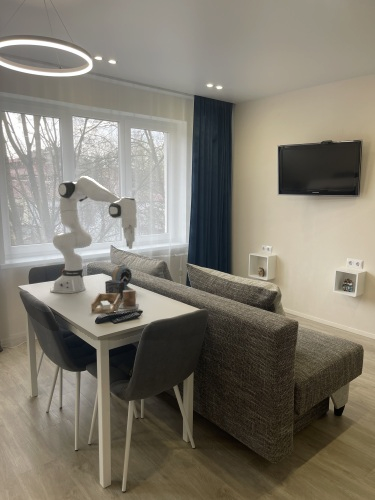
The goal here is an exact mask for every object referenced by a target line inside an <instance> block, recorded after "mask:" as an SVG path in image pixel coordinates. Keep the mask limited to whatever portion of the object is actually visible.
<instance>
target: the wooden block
mask: <svg viewBox="0 0 375 500" xmlns="http://www.w3.org/2000/svg"><path fill="white" fill-rule="evenodd" d="M136 294H137V293H136V290H135V289H134V290H124V291H123V298H122V304H123V307H131V306H136V304H137V301H136V299H137V295H136Z"/></svg>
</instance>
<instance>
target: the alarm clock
mask: <svg viewBox="0 0 375 500" xmlns="http://www.w3.org/2000/svg"><path fill="white" fill-rule="evenodd" d="M111 272H112V273H111V280H116V281H124V290H135V289H133V288H132V287H130V286H129V284H130V283H131V281H132V278H133V275H132V273H133V272H132V271H131V269H130V268H129V267H128V266H127V265H125V264H119V265H117V266H116V267H115V268H114V269H113V270H112V271H111Z"/></svg>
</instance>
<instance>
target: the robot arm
mask: <svg viewBox="0 0 375 500" xmlns="http://www.w3.org/2000/svg"><path fill="white" fill-rule="evenodd" d="M58 194H59V196H60V199H59V212H60V219H61V220H60V221H61V224H62V225H63V226H64V227H65V228H68V229H69V232H61V233H58V234H55V235H54V236H53V239H52V244H53V246H54V248H56V250H58V251H59V252H60V253H61V254H62V256H63V258H64V259H63V260H64V268H63V269H62V271H61V276H59V277H58V278H57V279H55V281H54V283H53V286H52V287H51V288H50V289H49V291H50V292H51V293H60V294H61V293H62V294H75V293H78V292H83V291H85V290H86V285H85V282H84V268H83V257H82V256H81V255H80V254H78V253H75V249H84V248H88V247H90V245H91V244H92V242H93V241H92V240H93V239H92V235H91V234H90V232H88V231H86V230H85V229H84V227H83V226H82V224H81V222H80V218H79V212H78V203H79V202H83V201H84V200H86V199H89V200H92V201H95V202H103V203H104V202H105V203H109V205H108V213H109V216H110V218H113V219H121V228H122V229H123V230H122V231H123V238H124V239H125V242H126V247H128V249H129V250H132V249H133V243H134V242H135V239H136V238H135V237H136V236H135V228H137V226H138V225H137V221H138V220H137V200H136V198H134V197H133V196H122V197H121V196H119V195H117V194H116V193H114V192H112V191H110V190H109V189H107V188H106V187H104V186H103V185H101V184H100V183H99V182H97V181H96V180H94V179H93V178H92V177H89V176H85V175H83V176H80V177H79V178H78V179H77V180H76V181H62V182H61V183H60V184H59V186H58Z"/></svg>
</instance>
